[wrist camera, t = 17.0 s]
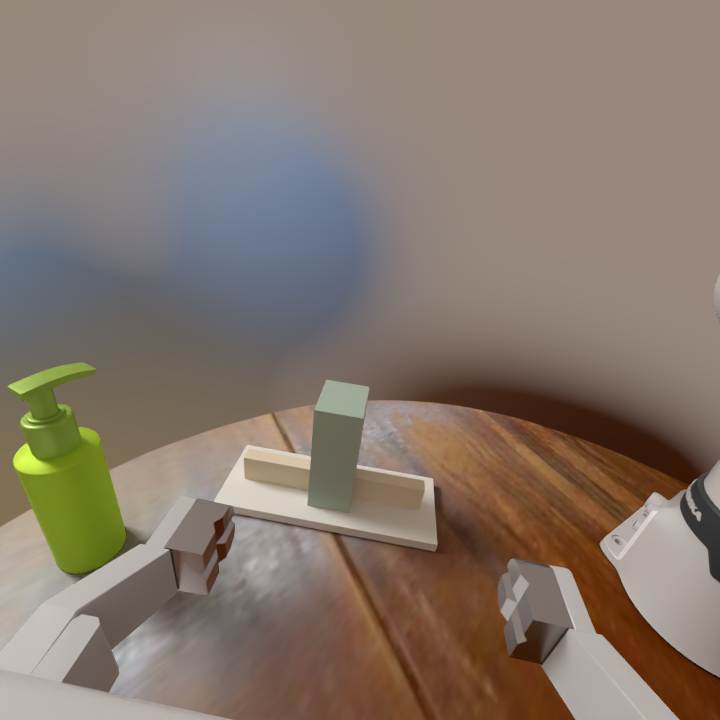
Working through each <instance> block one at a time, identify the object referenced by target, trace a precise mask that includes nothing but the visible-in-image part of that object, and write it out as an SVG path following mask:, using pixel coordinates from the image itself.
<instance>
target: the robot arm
mask: <svg viewBox="0 0 720 720" xmlns="http://www.w3.org/2000/svg"><path fill="white" fill-rule="evenodd" d="M714 308H715V312H716V315H717V317H718V320H719V322H720V274H719V276H718V279H717V281H716V285H715V290H714ZM233 515H234V509H233V506H231V505H227V504H222V503H217V502H212V501H208V500H203V499H199V498H194V497H188V496H181V497H180V498H179V499H178V500H177V501H176V502H175V504H174V505H173V506H172V508H171V509H170V511H169V512H168V513H167V515H166V516H165V518H164V519H163V521H162V522H161V523H160V525H159V526H158V528H157V529H156V530H155V532H154V533H153V535H152V536H151V537H150V539H149V540H148V542H147V543H146V545H145V544H139V545H138V546H136V547H134V548H133V549H131V550H129V551H128V552H126V553H124V554H123V555H121V556H119V557H118V558H116V559H114V560H113V561H111V562H109V563H108V564H106V565H105V566H103V567H101V568H100V569H98V570H96V571H95V572H93V573H91V574H90V575H88V576H86V577H85V578H83V579H81V580H80V581H78V582H76V583H75V584H73V585H71V586H70V587H68V588H67V589H65V590H63V591H62V592H60V593H58V594H57V595H55V596H53V597H52V598H50V599H48V600H47V601H45V602H43V603H42V604H41V605H40V606H39V607H38V609H37V610H36V611H35V612H34V613H33V614H32V616H31V617H30V618H29V619H28V620H27V621H26V623H25V624H24V625H23V626H22V627H21V629H20V630H19V631H18V632H17V633H16V634H15V636H14V637H13V638H12V639H11V640H10V641H9V643H8V644H7V645H6V646H5V647H4V648H3V650H2V651H1V652H0V720H232V719H227V718H222V717H218V716H213V715H209V714H204V713H200V712H195V711H191V710H186V709H181V708H177V707H172V706H168V705H163V704H159V703H154V702H150V701H145V700H140V699H136V698H131V697H127V696H122V695H118V694H113V693H109V691H110V689H111V687H112V685H113V684H114V682H115V680H116V678H117V677H118V675H119V668H118V665H117V662H116V660H115V657H114V655H113V653H112V649H113V648H114V647H115V646H116V645H118V644H119V643H120V642H121V641H122V640H123V639H125V638H126V637H127V636H128V635H129V634H130V633H132V632H133V631H134V630H135V629H136V628H137V627H139V626H140V625H141V624H142V623H143V622H144V621H145V620H147V619H148V618H149V617H150V616H151V615H152V614H154V613H155V612H156V611H157V610H158V609H159V608H161V607H162V606H163V605H164V604H165V603H166V602H168V601H169V600H170V599H171V598H172V597H173V596H174V595H176V594H177V593H178V591H184V592H190V593H196V594H202V595H207V596H208V594H209V592H210V590H211V588H212V586H213V584H214V582H215V580H216V578H217V576H218V573H219V565H218V563H219V562H220V561H222V560H223V559H224V558H226V557H227V554H228V552H229V550H230V548H231V545H232V541H233V538H234V532H235V524H234V522H233V521H232V520H231V519H232V517H233ZM600 547H601V549H602V551H603V552H604V554H605V555H606V556H607V558H608V559H609V560H610V561H611V563H612V564H613V565H614V566H615V568H616V570H617V571H618V573H619V576H620V578H621V581H622V583H623V586H624V588H625V590H626V592H627V594H628V595H629V597H630V599H631V600H632V602H633V603H634V605H635V606H636V608H637V609H638V611H639V612H640V613H641V614H642V616H643V617H644V618H645V619H646V620H647V622H648V623H649V624H650V625H651V626H652V627H653V628H654V629H655V630H656V631H657V632H658V633H659V634H660V635H661V636H662V637H663V638H664V639H665V640H666V641H667V642H668V643H669V644H671V645H672V646H673V647H674V648H675V649H677V650H678V651H679V652H680V653H682V654H683V655H684V656H686V657H687V658H688V659H690V660H691V661H693V662H694V663H696V664H697V665H699V666H700V667H702V668H704V669H705V670H707V671H709V672H710V673H712V674H714V675H716V676H718V677H720V459H719V461H718V462H717V464H716V465H715V466H714V467H713V469H712V470H711V471H710V472H707V473H704V474H702V475H701V476H700V477H699V478H698V479H696V480H695V481H694V482H692V484H691V485H690V486H689V487H688V489H687V490H682V491H681V492H680V493H678V494H677V495H676V496H675V497H673V498H672V499H671V500H670V501H669V500H666V498H664V497H663V496H661V495H660V494H658V493H656V492H654V493H653V494H652V495H651V496H650V497H649V499H648V500H647V501H646V503H645V504H644V506H643V507H642V508H640V509H639V510H638V511H637V512H635V513H634V514H633V515H632V516H630V517H629V518H628V519H627V520H626V521H624V522H623V523H622V524H621V525H619V526H618V527H617V528H616V529H614V530H613V531H612V532H611V533H609V534H608V535H607V536H606V537H605V538H604V539H603V540H602V541H601V542H600ZM507 568H508V573H506V574H504V575H502V577H501V579H500V581H499V586H498V602H499V608H500V612H501V613H502V614H503V616H504V617H505V618H506V620H507V623H506V625H505V627H504V633H505V637H506V642H507V647H508V652H509V657H512V658H516V659H521V660H525V661H529V662H534V663H538V664H542V668H543V669H544V671H545V672H546V674H547V676H548V677H549V679H550V680H551V682H552V683H553V685H554V687H555V688H556V690H557V691H558V693H559V694H560V696H561V697H562V699H563V701H564V702H565V704H566V705H567V707H568V708H569V710H570V711H571V713H572V715H573V716H574V718H575V719H576V720H679V719H678V718H677V717H676V716H675V715H674V714H673V712H672V711H671V710H670V709H669V708H668V707H667V706H666V705H665V704H664V703H663V701H662V700H661V699H660V698H659V697H658V696H657V695H656V694H655V693H654V692H653V690H652V689H651V688H650V687H649V686H648V685H647V684H646V683H645V682H644V681H643V679H642V678H641V677H640V676H639V675H638V674H637V673H636V672H635V671H634V670H633V668H632V667H631V666H630V665H629V664H628V663H627V662H626V661H625V660H624V659H623V658H622V656H621V655H620V654H619V653H618V652H617V651H616V650H615V649H614V648H613V647H612V645H611V644H610V643H609V642H608V641H607V640H606V639H605V638H604V637H603V636H602V635H600V634H596V632H595V629H594V627H593V624H592V622H591V619H590V617H589V614H588V612H587V610H586V607H585V605H584V602H583V600H582V597H581V595H580V592H579V590H578V587H577V585H576V582H575V580H574V578H573V575H572V573H571V572H570V571H569V569H567V568H562V567H556V566H550V565H547V564H543V563H537V562H531V561H525V560H520V559H514V558H513V559H511V560H510V561H509V563H508V565H507Z"/></svg>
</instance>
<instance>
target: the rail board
mask: <svg viewBox="0 0 720 720" xmlns="http://www.w3.org/2000/svg"><path fill="white" fill-rule="evenodd" d="M310 463H311V456H305V455H300V454H294V453H289V452H283V451H278V450H272V449H267V448H261V447H256V446H250V445H247V446H246V448H245V450H244V451H243V453H242V455H241V456H240V458H239V460H238V461H237V463H236V465H235V466H234V468H233V470H232V472H231V473H230V475H229V477H228V478H227V480H226V482H225V483H224V485H223V487H222V488H221V490H220V492H219V494H218V495H217V497H216V499H215V500H214V502H217V503H222V504H227V505H231V506H233V509H234V513H235V514H240V515H246V516H251V517H256V518H261V519H267V520H272V521H277V522H282V523H287V524H293V525H298V526H303V527H308V528H314V529H319V530H324V531H329V532H335V533H340V534H345V535H350V536H356V537H361V538H366V539H371V540H376V541H382V542H387V543H392V544H397V545H403V546H408V547H413V548H418V549H424V550H429V551H434V552H435V551H436V548H437V530H436V516H435V502H434V487H433V478H427V477H422V476H416V475H410V474H405V473H399V472H394V471H388V470H383V469H377V468H372V467H366V466H361V465H357V468H356V472H355V478H354V483H353V490H352V496H351V503H350V508H349V513H346V512H340V511H335V510H330V509H324V508H319V507H314V506H308V505H307V502H308V489H309V476H310Z"/></svg>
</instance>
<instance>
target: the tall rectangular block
mask: <svg viewBox="0 0 720 720" xmlns="http://www.w3.org/2000/svg"><path fill="white" fill-rule="evenodd" d="M368 393H369V387H366V386H360V385H354V384H348V383H342V382H337V381H330V380H326V382H325V385H324V388H323V390H322V393H321V395H320V397H319V400H318V403H317V405H316V408H315V410H314V423H313V436H312V450H311V463H310V476H309V489H308V502H307V505H308V506H314V507H319V508H324V509H330V510H335V511H340V512H346V513H349V508H350V503H351V496H352V490H353V483H354V478H355V472H356V468H357V462H358V456H359V450H360V443H361V437H362V431H363V424H364V418H365V412H366V405H367V399H368Z"/></svg>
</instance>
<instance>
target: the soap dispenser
mask: <svg viewBox="0 0 720 720" xmlns="http://www.w3.org/2000/svg"><path fill="white" fill-rule="evenodd" d="M95 372H96V369H95V368H93V367H91V366H89V365H87V364H85V363H75V364H69V365H63V366H59V367H55V368H51V369H48V370H45V371H42V372H39V373H37V374H34V375H32V376H29V377H27V378H24V379H22V380H20V381H17V382H15V383H13V384H10V385H8V386H7V387H8V390H9V392H10V393H12V394H13V395H15V396H16V397H18V398H19V399H21V400H22V401H24V400H26V401H27V403H28V406H29V409H30V412H28V413H27V414H25V416H23V417H22V419H21V421H20V425H21V428H22V431H23V433H24V436H25V438H26V441H27V443H26V444H25V445H23V446H22V447H21V448H20V449H19V450H18V451H17V453H16V454H15V456H14V459H13V465H14V467H15V470H16V472H17V474H18V477H19V479H20V481H21V483H22V485H23V488H24V490H25V493H26V495H27V497H28V499H29V502H30V504H31V506H32V508H33V511H34V513H35V515H36V517H37V520H38V522H39V524H40V527H41V529H42V531H43V533H44V536H45V538H46V540H47V542H48V545H49V547H50V549H51V551H52V554H53V556H54V558H55V561H56V563H57V565H58V567H59V568H60V569H61V570H63V571H65V572H67V573H73V574H77V573H85V572H89V571H92V570H94V569H97V568H99V567H101V566H103V565H104V564H106V563H107V562H109V561H110V560H111V559H112V558H114V557H115V556H116V555H117V553H118V552H119V551H120V550H121V548H122V547H123V545H124V542H125V539H126V531H125V527H124V524H123V520H122V516H121V513H120V509H119V506H118V502H117V498H116V495H115V491H114V487H113V484H112V480H111V477H110V473H109V469H108V466H107V462H106V459H105V455H104V451H103V448H102V444H101V441H100V437H99V435H98V434H97V433H96V432H95V431H93V430H91V429H88V428H84V427H78V425H77V422H76V419H75V416H74V412H73V410H72V408H71V407H69V406H67V405H64V404H57V402H56V399H55V396H54V393H53V390H52V388H54V387H56V386H59V385H61V384H64V383H66V382H69V381H72V380H74V379H78V378H81V377H86V376H91V375H93V374H94V373H95Z"/></svg>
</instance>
